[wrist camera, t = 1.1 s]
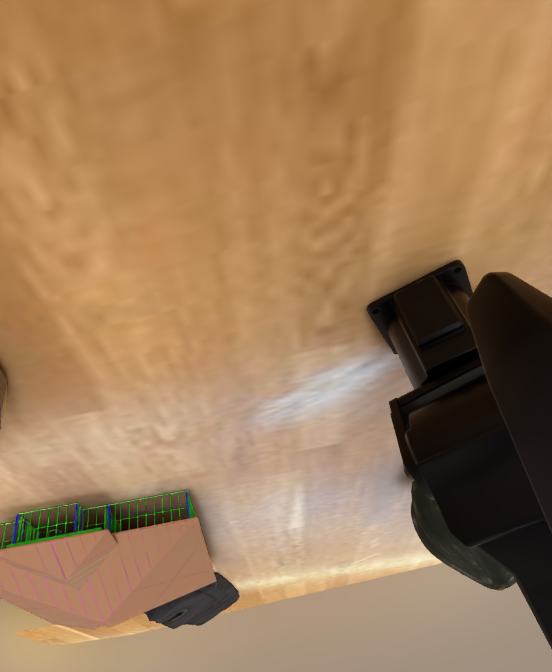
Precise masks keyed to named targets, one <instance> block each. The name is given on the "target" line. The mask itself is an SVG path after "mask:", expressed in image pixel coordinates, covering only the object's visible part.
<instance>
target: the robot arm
mask: <svg viewBox="0 0 552 672" xmlns="http://www.w3.org/2000/svg"><path fill="white" fill-rule="evenodd" d="M367 311H368V313H369V315H370V317H371V318H372V320H373V321H374V323H375V324H376V326H377V327H378V329H379V331H380V332H381V334H382V335H383V337H384V338H385V340H386V341H387V343H388V345H389V346H390V348H391V349H392V351H393V352H394V353H395V354H398V356H399V358H400V360H401V362H402V364H403V366H404V368H405V371H406V373H407V375H408V377H409V379H410V381H411V383H412V385H413V388H414V390H413V391H411V392H409V393H407V394H405V395H403V396H401V397H399V398H395V399H393V400H391V401H389V405H390V409H391V418H392V422H393V426H394V429H395V433H396V437H397V441H398V445H399V448H400V452H401V456H402V460H403V464H404V472H405V474H406V476H407V477H408V478H409V479H411V480H413V481H416V483H417V484H418V486H419V488H420V489H421V490H422V491H423V493H424V494H425V495H426V496H427V497H428V498H430V499H431V500H435V501H436V503H437V505H438V507H439V509H440V511H441V514H442V516H443V518H444V521H445V523H446V525H447V528H448V530H449V531H450V533H451V534H452V535H454V536H455V537H456V538H457V539H458V540H459V541H460V542H461V543H463V544H464V545H465V546H466V547H468V548H472V547H476V548H477V549H478V550H480V551H481V552H482V553H484V554H485V555H486V556H488V557H489V558H490V559H492V560H493V561H494V562H496V563H497V564H498V565H500V566H501V567H502V568H504V569H505V570H506V571H508V572H509V573H510V574H511V575H512V576H513V577H514V579H515V580H516V582H517V584H518V586H519V588H520V589H521V591H522V593H523V595H524V597H525V599H526V601H527V603H528V605H529V607H530V608H531V610H532V612H533V614H534V616H535V618H536V620H537V622H538V624H539V626H540V628H541V629H542V631H543V633H544V635H545V637H546V639H547V641H548V643H549V645H550V646H551V649H552V298H551V297H549V296H548V295H546V294H544V293H543V292H541V291H539V290H538V289H536V288H534V287H533V286H531V285H529V284H528V283H526V282H524V281H523V280H521V279H519V278H518V277H516V276H514V275H513V274H511V273H508V272H491V273H488V274H486V275H485V276H484V277H483V278H482V280H481V281H480V283H479V285H478V286H477V288H476V289H475V291H474V292H472V289H471V285H470V282H469V279H468V276H467V272H466V269H465V266H464V265H463V263H462V262H461V261H459V260H456V261H453V262H451V263H449V264H447V265H445V266H443V267H441V268H439V269H437V270H435V271H433V272H431V273H429V274H427V275H425V276H423V277H422V278H420V279H418V280H416V281H414V282H412V283H410V284H408V285H406V286H404V287H402V288H400V289H398V290H396V291H394V292H392V293H390V294H388V295H386V296H384V297H382V298H381V299H379V300H377V301H375V302H373V303H371V304H370V305H369V306H368V307H367Z"/></svg>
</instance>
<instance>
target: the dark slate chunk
mask: <svg viewBox="0 0 552 672" xmlns="http://www.w3.org/2000/svg"><path fill="white" fill-rule="evenodd" d="M214 574H215V577H216V582H214V583H211V584H209V585H207V586H204V587H202V588H200V589H197V590H195V591H193V592H191V593H188V594H186V595H184V596H181V597H179V598H177V599H174V600H172V601H170V602H167V603H165V604H163V605H161V606H158V607H156V608H154V609H151V610H149V611H147V612H144V613H145V614H146V615H147V617H148V618H149V621H155V622H156V623H161V624H163V625H165V626H168V627H170V628H172V629H174V628H177V627H179V626H181V625H185V624H189V625H198V626H199V625H202V624H204V623H206V622H207V621H209V620H211V619H212V618H213V617H215V616H216V615H217V614H219V613H220V612H221V611H223V610H225V609H227V608H228V607H230V606H231V605H232V604H233V603H235V602H236V601H237V600H238V598H239V593H238V592H237V590H236V588H234V586H233V585H232V584H231V583H229V582H228V581H227V580H226V579H225V578H223V576H221V575H219V574H217V573H214Z"/></svg>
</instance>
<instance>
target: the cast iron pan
mask: <svg viewBox="0 0 552 672" xmlns="http://www.w3.org/2000/svg"><path fill="white" fill-rule="evenodd" d="M6 398H7V380H6V379H5V377H4V375H3V373H2V371H1V370H0V429H1V425H2V420H3V415H4V410H5V405H6Z"/></svg>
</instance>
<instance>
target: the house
mask: <svg viewBox="0 0 552 672" xmlns="http://www.w3.org/2000/svg"><path fill="white" fill-rule="evenodd" d="M181 492H186V498H187V507H186V508H187V510H188V519H184V520H179V521H173V522H172V512H171V522H168V523H164V519H163V524H158V525H153V526H147V516H148V515H141V516H146V527H142V528H138V517H140V516H138V500H142V499H137V500H132V501H137V517H133V518H137V529H132V530H130V519H132V518H130V502H131V501H126V502H129V518H125V519H129V530H127V531H123V529H122V528H121V520H124V519H121V508H120V520H117V521H120V525H119V523H118V522H117V521H116V504H121V503H126V502H121V503H115V504H110V505H115V518H114V516H113V515H112V514H111V512H110V505H104V506H105V513H104V523H101V524H104V530H103V529H102V528H101V527H99V528H97V525H101V524H97V512H96V524H93V525H96V528H94V529H89V530H88V526H93V525H88V522H87V526H85V527H87V530H84V531H83V528H85V527H83V518H84V510H88V520H89V509H93V508H97V509H98V508H99V507H104V506H99V507H93V508H88V509H82V507H81V506H80V505H79V504H78V503H75V504H76V510H75V521H74V522H75V524H74V532H73V533H68V534H66V524H68V523H67V513H66V523H61V524H65V534H63V533H62V532H61V531H60V530H59V529H57V525H60V524H58V514H59V507H64V506H67V512H68V506H69V505H75V504H69V505H64V506H58V507H53V508H58V514H57V524H56V525H53V526H56V530H51V531H56V535H55V536H52V537H49V532H50V531H48V527H52V526H48V525H49V516H50V509H53V508H47V509H49V515H48V525H47V526H45V527H47V531H46V532H47V534H48V537H47V534H46V538H41V533H45V532H39V528H44V527H39V525H40V517H41V511H42V510H47V509H42V510H36V511H40V516H39V525H38V528H37V529H38V531H37V530H36V529H35V528H34V527H33V526H32V525H31V518H32V512H36V511H31V512H25V513H20V514H24V518H22V517H21V516H20V514H17V516H16V522H12V523H14V529H13V535H12V540H9V541H12V542H11V544H10V545H7V546H3V543H4V542H8V541H4V537H5V531H6V525H7V524H12V523H6V524H1V525H5V530H4V536H3V542H1V543H2V547H0V548H1V550H0V598H1V599H3V600H6V601H7V602H9V603H11V604H13V605H16V606H18V607H20V608H22V609H24V610H26V611H28V612H30V613H32V614H34V615H36V616H39V617H40V618H43V619H45V620H47V621H49V622H51V623H53V624H57V625H64V626H71V627H78V628H85V629H92V630H94V629H97V628H99V627H101V626H104V627H112V626H114V625H117V624H119V623H121V622H124V621H126V620H128V619H131V618H133V617H135V616H137V615H140V614H142V613H144V612H147V611H149V610H151V609H154V608H156V607H158V606H161V605H163V604H165V603H167V602H170V601H172V600H174V599H177V598H179V597H181V596H184V595H186V594H188V593H191V592H193V591H195V590H197V589H200V588H202V587H204V586H207V585H209V584H211V583H214V582H216V577H215V574H214V570H213V567H212V564H211V560H210V557H209V554H208V550H207V547H206V543H205V540H204V537H203V533H202V530H201V527H200V523H199V520H198V517H196V516H195V513H194V510H193V506H192V503H191V500H190V497H189V493H188V490H186V491H181ZM175 493H178V501H179V493H180V492H175ZM175 493H170V494H164V495H170V505H171V494H175ZM164 495H159V496H164ZM159 496H154V497H159ZM148 498H153V497H148ZM148 498H143V499H145V503H146V499H148ZM78 506H79V518H78V522H77V516H78ZM107 506H108V508H107ZM106 509H107V518H106ZM178 509H179V515H180V506H179V508H178ZM181 509H185V508H181ZM80 510H82V513H81V526H80ZM173 510H177V509H173ZM170 511H172V510H170ZM162 512H163V498H162ZM162 512H157V513H162ZM165 512H169V511H165ZM26 513H31V517H30V524H29V523H28V522H27V521H26V520H25V515H26ZM163 513H164V512H163ZM155 514H156V513H155V504H154V524H155ZM110 515H111V521H110ZM149 515H153V514H149ZM19 517H20V518H21V519H20V521H18V519H19ZM112 517H113V521H112ZM22 520H23V527H22V531H21V532H22V534H21V536H20V529H21V522H22ZM18 522H20V525H19V532H17V525H18ZM74 522H69V523H74ZM110 522H111V523H110ZM26 523H27V524H28V525H27V530H25V524H26ZM77 524H78V532H76V530H77ZM117 524H118V532H117ZM1 525H0V526H1ZM30 526H31V528H30ZM79 526H80V527H81V528H80V531H79ZM119 527H120V532H119ZM28 528H29V532H28ZM32 528H33V529H32ZM32 530H34V531H33V539H32V540H31V541H30V539H31V532H32ZM57 530H58V532H57ZM24 531H27V532H26V539H25V540H24V539H23V538H24ZM35 531H36V532H37V533H36V540H34V535H35ZM59 532H60V535H59ZM16 533H18V534H16ZM29 533H30V536H29ZM62 534H63V535H62ZM16 535H17V536H18V539H16ZM27 536H28V539H27ZM19 537H20V538H21V539H19ZM39 538H40V539H39ZM15 539H16V540H17V543H15V541H16V540H15ZM19 540H21V541H20V543H19ZM28 540H29V541H28ZM23 541H25V542H23ZM3 547H4V549H3ZM5 547H6V549H5Z"/></svg>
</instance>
